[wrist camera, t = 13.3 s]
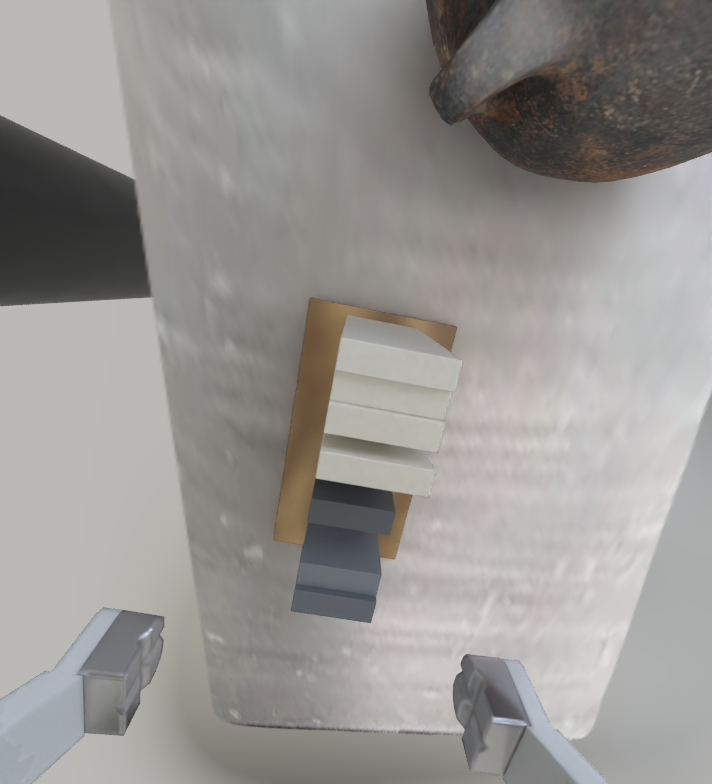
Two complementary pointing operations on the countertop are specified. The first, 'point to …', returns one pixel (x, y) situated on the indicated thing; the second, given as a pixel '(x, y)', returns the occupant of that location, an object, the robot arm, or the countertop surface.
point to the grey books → (343, 551)
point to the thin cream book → (375, 465)
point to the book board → (312, 413)
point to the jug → (578, 82)
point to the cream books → (391, 385)
